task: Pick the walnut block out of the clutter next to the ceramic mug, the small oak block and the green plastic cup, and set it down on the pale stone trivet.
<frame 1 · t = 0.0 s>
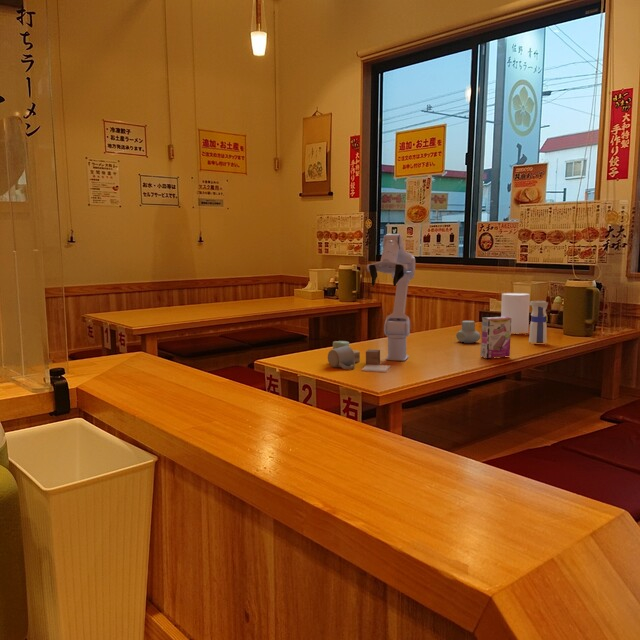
hand: (383, 283, 210), 32 cm above the table, tool tilted 50°, fingers open, 7 cm apart
trivet: (376, 369, 221), on the table
candy bar box: (495, 358, 241), on the table
air freshener: (467, 342, 278), on the table
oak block: (353, 361, 236), on the table
walnut block: (372, 364, 230), on the table
ceramic mug: (343, 367, 225), on the table
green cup: (340, 362, 235), on the table
canister: (514, 333, 306), on the table
water bottle: (537, 343, 273), on the table
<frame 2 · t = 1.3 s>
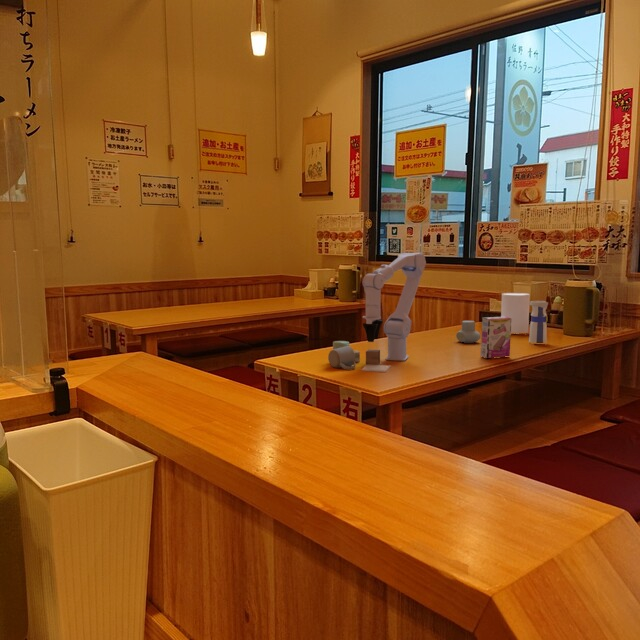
hand: (372, 340, 228), 9 cm above the table, tool pointing down, fingers open, 7 cm apart
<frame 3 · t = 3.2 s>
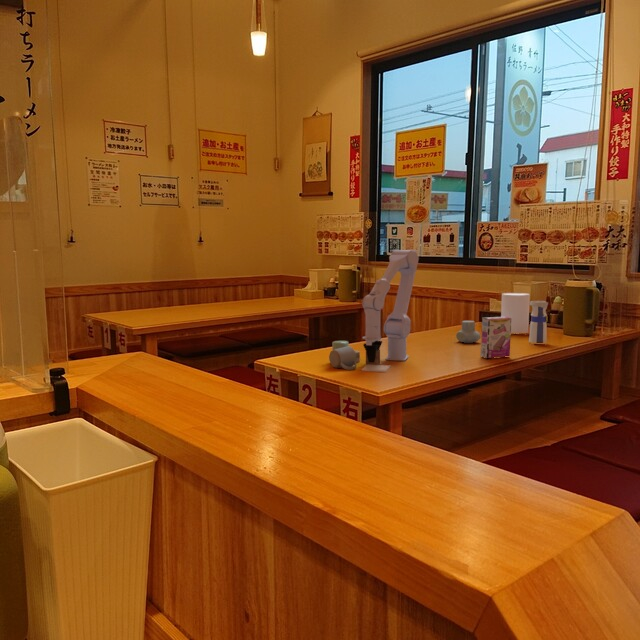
hand: (372, 360, 230), 1 cm above the table, tool pointing down, fingers closed on walnut block, 5 cm apart
walnut block: (372, 364, 230), on the table, touching gripper
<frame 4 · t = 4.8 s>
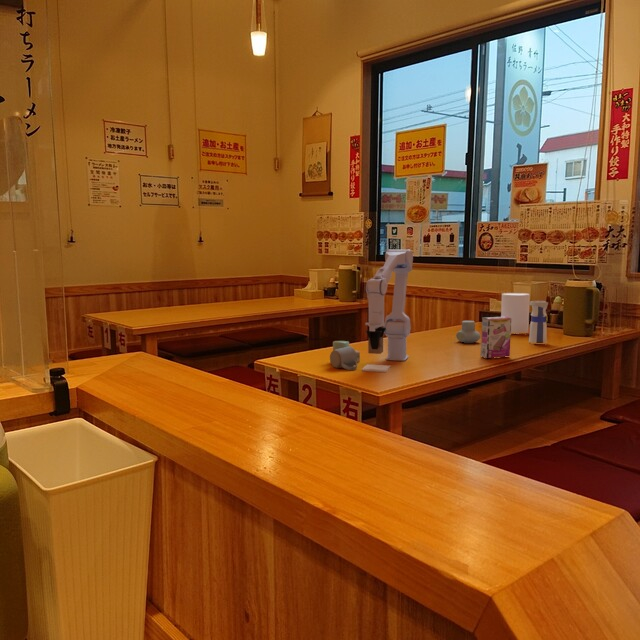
hand: (376, 347, 220), 8 cm above the table, tool pointing down, fingers closed on walnut block, 5 cm apart
walnut block: (375, 352, 221), point 6 cm above the table, touching gripper
when the fingers open (3 cm above the table, at t = 6.5 s): walnut block stays where it is, resting on trivet.
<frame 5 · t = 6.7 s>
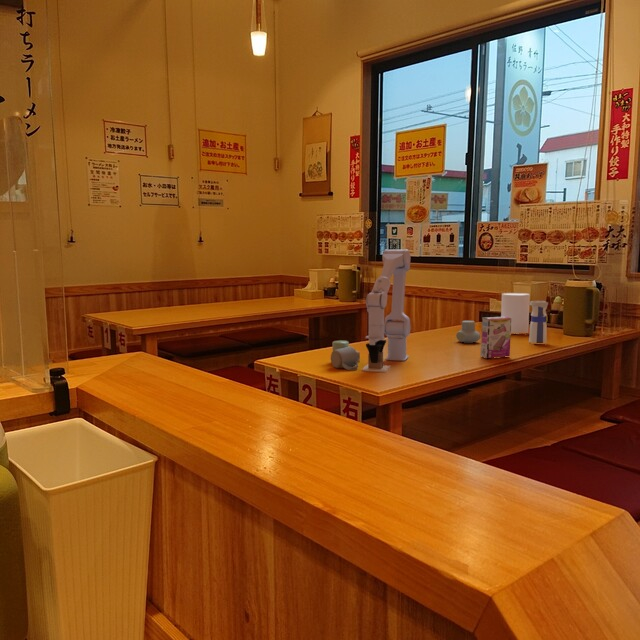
hand: (376, 361, 221), 3 cm above the table, tool pointing down, fingers open, 6 cm apart
walnut block: (375, 367, 221), point 1 cm above the table, touching trivet
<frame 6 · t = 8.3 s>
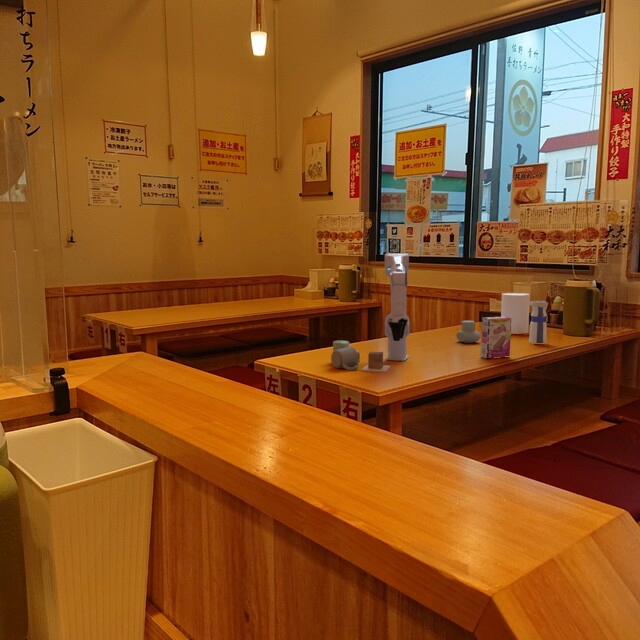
hand: (398, 339, 224), 10 cm above the table, tool pointing down, fingers open, 7 cm apart
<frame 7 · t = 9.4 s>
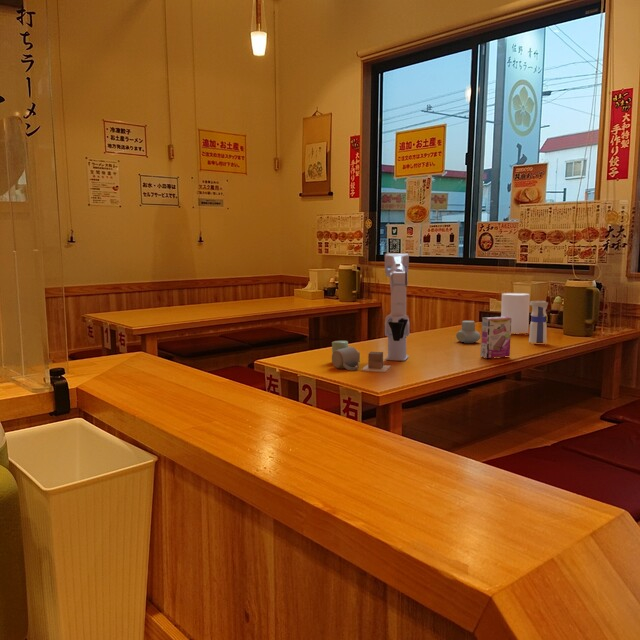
hand: (398, 339, 224), 10 cm above the table, tool pointing down, fingers open, 7 cm apart
at the end: walnut block inside the target area on the trivet (0.2 cm from its centre), point 0.6 cm above the trivet's base; walnut block tilted 0°; the gripper is holding nothing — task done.
